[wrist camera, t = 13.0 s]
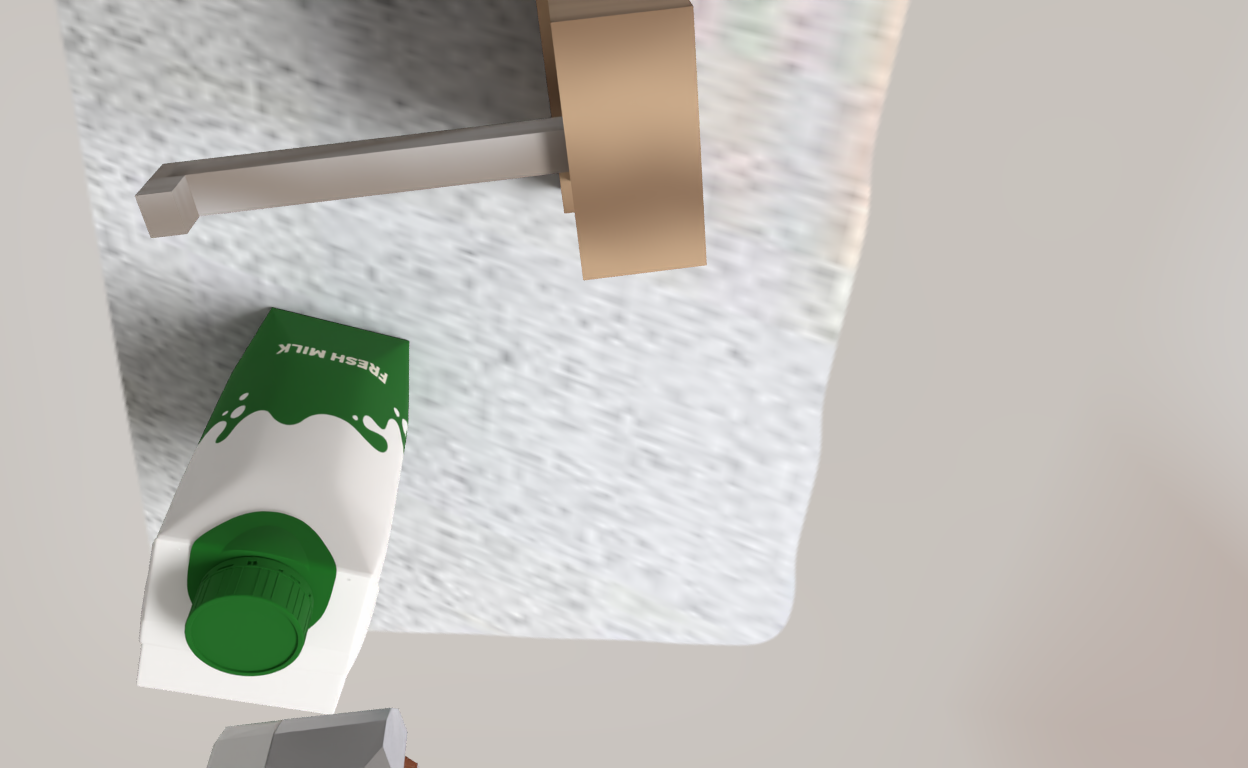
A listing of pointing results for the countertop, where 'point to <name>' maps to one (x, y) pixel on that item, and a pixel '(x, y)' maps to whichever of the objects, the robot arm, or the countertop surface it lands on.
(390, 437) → the milk carton
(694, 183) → the wooden peg hook block
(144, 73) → the countertop surface
